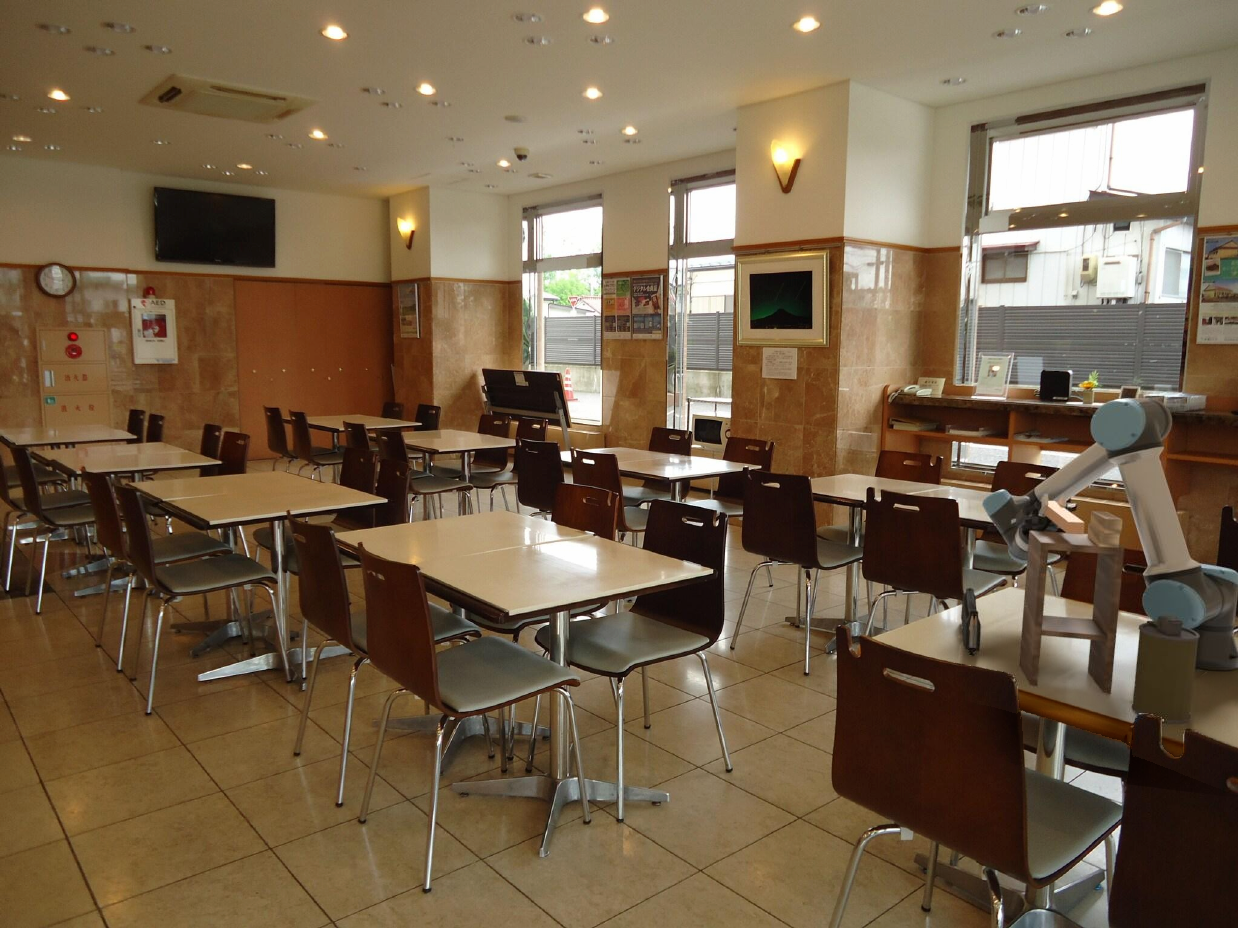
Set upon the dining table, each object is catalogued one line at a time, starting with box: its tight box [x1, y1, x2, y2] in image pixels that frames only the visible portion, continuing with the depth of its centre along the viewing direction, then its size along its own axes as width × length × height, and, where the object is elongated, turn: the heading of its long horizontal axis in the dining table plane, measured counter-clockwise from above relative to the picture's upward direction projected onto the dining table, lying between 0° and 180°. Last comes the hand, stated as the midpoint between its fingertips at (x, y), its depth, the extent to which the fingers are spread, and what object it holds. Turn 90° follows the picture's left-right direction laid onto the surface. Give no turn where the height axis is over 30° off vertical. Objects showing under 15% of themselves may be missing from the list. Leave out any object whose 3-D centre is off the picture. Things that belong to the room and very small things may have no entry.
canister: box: [1131, 616, 1200, 724], centre depth 178 cm, size 11×10×20 cm
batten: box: [1043, 501, 1085, 534], centre depth 196 cm, size 28×3×2 cm, turn 165°
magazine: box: [960, 587, 982, 657], centre depth 223 cm, size 17×3×30 cm
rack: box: [1018, 510, 1125, 695], centre depth 195 cm, size 16×14×38 cm
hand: (1055, 499), depth 201 cm, fingers closed on batten, 3 cm apart
